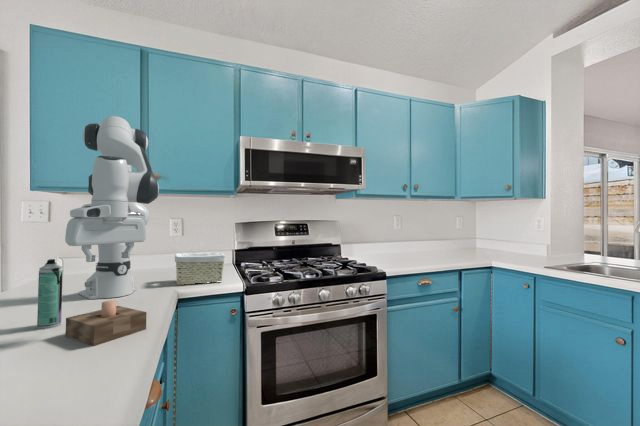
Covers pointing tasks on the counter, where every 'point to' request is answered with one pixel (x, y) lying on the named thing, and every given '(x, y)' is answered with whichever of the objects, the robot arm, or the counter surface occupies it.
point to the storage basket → (199, 267)
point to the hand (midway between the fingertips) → (108, 259)
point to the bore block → (105, 325)
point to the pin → (108, 309)
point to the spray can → (49, 295)
